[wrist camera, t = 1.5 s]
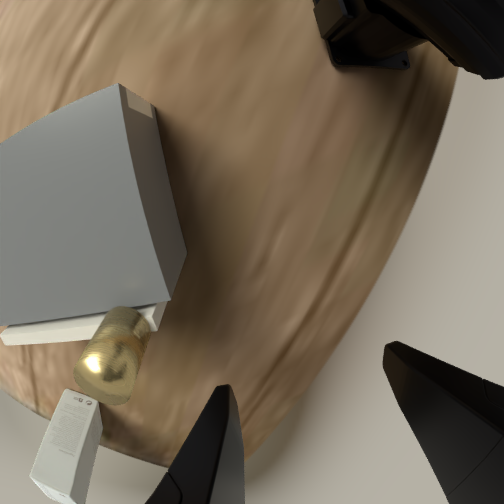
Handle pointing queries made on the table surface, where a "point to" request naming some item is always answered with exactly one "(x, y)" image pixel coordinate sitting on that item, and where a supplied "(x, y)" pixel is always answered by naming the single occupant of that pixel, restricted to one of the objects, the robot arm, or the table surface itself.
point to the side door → (99, 346)
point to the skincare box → (69, 449)
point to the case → (87, 212)
